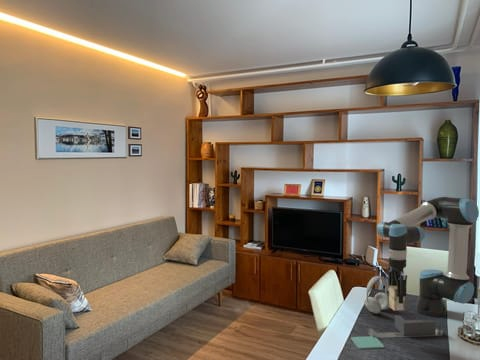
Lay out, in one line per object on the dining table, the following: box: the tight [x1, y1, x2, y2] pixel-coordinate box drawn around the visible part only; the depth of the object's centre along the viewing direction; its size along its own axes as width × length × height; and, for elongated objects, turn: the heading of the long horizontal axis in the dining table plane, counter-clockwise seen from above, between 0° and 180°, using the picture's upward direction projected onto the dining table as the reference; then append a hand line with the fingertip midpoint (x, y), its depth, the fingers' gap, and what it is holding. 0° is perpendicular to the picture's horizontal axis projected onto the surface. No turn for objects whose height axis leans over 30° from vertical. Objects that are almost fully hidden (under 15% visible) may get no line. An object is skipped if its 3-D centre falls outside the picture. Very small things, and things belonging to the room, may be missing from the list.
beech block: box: [388, 285, 406, 312], centre depth 175 cm, size 5×5×10 cm
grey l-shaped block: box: [394, 314, 437, 335], centre depth 186 cm, size 16×9×6 cm, turn 94°
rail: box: [368, 325, 444, 339], centre depth 183 cm, size 35×4×2 cm, turn 94°
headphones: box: [364, 275, 390, 315], centre depth 210 cm, size 19×9×20 cm, turn 126°
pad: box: [350, 335, 385, 350], centre depth 175 cm, size 12×10×1 cm
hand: (396, 307), depth 176 cm, fingers closed on beech block, 5 cm apart
